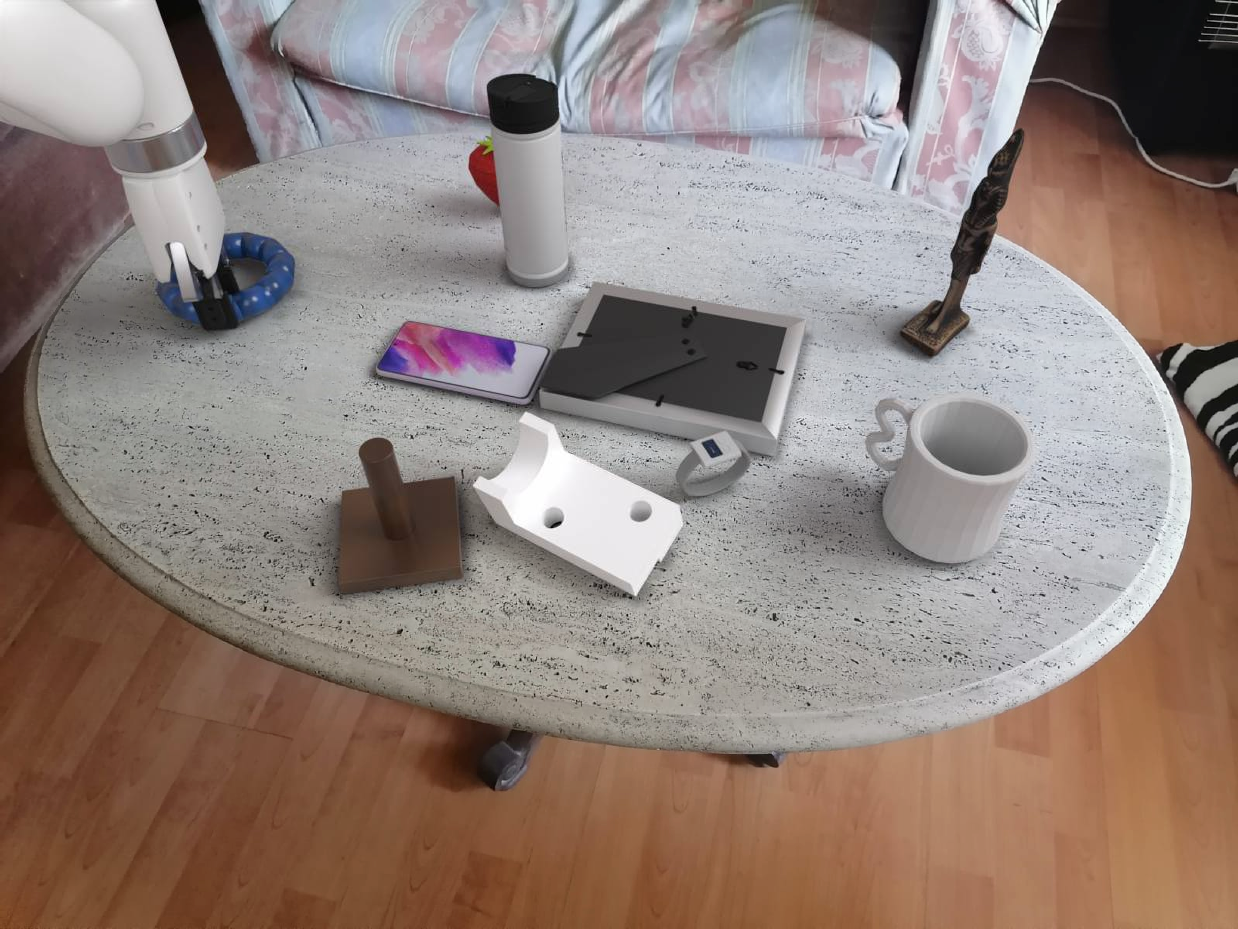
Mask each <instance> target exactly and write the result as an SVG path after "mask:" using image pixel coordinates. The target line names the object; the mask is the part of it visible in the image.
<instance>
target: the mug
mask: <svg viewBox="0 0 1238 929" xmlns="http://www.w3.org/2000/svg"><path fill="white" fill-rule="evenodd" d="M889 410H894V411H896V412H898V413H900V415H901V416H902V418H903V420H904V423H905V424H906V425H907V429H906V435H905V443H904V448H903V453H902V455H901V457H898V458H896V459H888V458H887V457H886V456H885V455H884V454H883V453H882V450H880V447H879V446H878V444H879V443H889V442H892V440H893V439H895V436H896V429H895V427H894V424H893V422H892V421H891V418H890V416H889V413H888V411H889ZM874 414H875V415H874V416H875V419H876V421H877V423H878V426H879V427H880V429H881V431H872V432H869V433H868V434H867V436H866V439H865V441H864V445H865V448H866V451H867V454H868V455H869V457H870V458H871V460H872V461H873V462H874V463H875V464H876V466H878V467H879V468H880V469H882V470H884V471H885V472H894V474H893V476H892V478H891V479H890V481H889V483H888V485H887V487H886V490H885V492H884V495H883V498H882V517H883V520H884V523H885V525H886V528H887V530H888V532H890V534H891V535H892V537H893V538H894V540H896V541H897V542H898V543H899V544H900V545H901V546H903V547H904V548H905V549H906V550H908V551H909V552H912V553H913V554H915V555H917V556H919V557H921V558H924V559H927V560H930V561H933V562H936V563H946V564H960V563H961V564H962V563H968V562H970V561H974V560H977V559H979V558H981V557H982V556H984V555H986V554H987V553H988V552H990V551H991V550H992V548H993V547H994V545H996V543H997V541H998V540H999V538H1000V536H1001V533H1002V530H1003V526H1004V522H1005V519H1006V518H1005V517H1006V515H1007V511H1008V509H1009V506H1010V504H1011V502H1012V500H1013V497H1014V495H1015V492H1016V490H1017V488H1018V486H1019V485H1020V484H1021V482H1022V480H1023V479H1024V478H1025V476H1026V475H1027V473H1028V472H1029V470H1030V469H1031V468H1032V466H1033V465H1034V463H1035V460H1036V455H1037V451H1038V450H1037V449H1038V448H1037V443H1036V442H1037V441H1036V437H1035V435H1034V433H1033V432H1032V430H1031V428H1030V425H1029V424H1028V423H1027V422H1026V421H1025V420H1024V419H1023V418H1022V417H1021V416H1020V414H1019V413H1017V412H1016V411H1014V410H1013V409H1012V408H1010V407H1009V406H1007V405H1006V404H1003V403H1001V402H999V401H997V400H995V399H993V398H991V397H987V396H983V395H980V394H976V393H968V392H951V393H943V394H940V395H937V396H933V397H930V398H929V399H927V400H925V401H924V402H922V403H920V404H919V405H918V406H917V407H916V409H915V410H914V408H913V407H912V406H911V405H910V404H909V402H907V401H905V400H902V399H901V398H896V397H895V398H893V397H886V398H884V399H881V400H879V401H878V403H877V405H876V406H875V408H874Z"/></svg>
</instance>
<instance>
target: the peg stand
mask: <svg viewBox="0 0 1238 929" xmlns="http://www.w3.org/2000/svg"><path fill="white" fill-rule="evenodd" d="M358 457H359V460H360V463H361V467H362V469H363V472H364V476H365V478H366V482H367V484H368V486H367V487H361V488H354V489H353V488H352V489H346V490H341V498H340V499H341V500H340V502H341V505H340V526H339V530H340V531H339V554H338V558H339V559H338V580H337V581H338V582H337V583H338V586H339V588H340V591H341V594H342V595H349V594H357V593H364V592H372V591H378V590H385V589H392V588H399V587H400V588H401V587H408V586H414V585H415V586H416V585H423V584H429V583H435V582H436V583H437V582H443V581H449V580H458V579H464V568H463V567H464V566H463V565H464V564H463V550H462V539H461V538H462V536H461V521H460V507H459V493H458V492H459V490H458V483H457V479H456V476H446V477H438V478H431V479H424V480H423V479H422V480H416V481H409V482H407V481H406V482H404V480H403V477H402V474H401V470H400V467H399V463H398V459H397V456H396V451H395V449H394V445H393V443H392V442H391V440H389V439H387V438H385V437H379V436H377V437H372V438H369V439H367V440H365V441H363V443H362V444H361V445H360V446H359V448H358Z"/></svg>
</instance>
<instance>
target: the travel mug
mask: <svg viewBox="0 0 1238 929" xmlns="http://www.w3.org/2000/svg"><path fill="white" fill-rule="evenodd" d="M485 89H486V95H487V106H488V110H489V125H490V137H492V145H493V153H494V161H495V170H496V178H497V187H498V195H499V204H500V208H499V211H500V219H501V228H502V235H503V236H502V237H503V245H504V252H505V253H504V254H505V261H506V262H505V263H506V270H507V274H508V276H509V277H510V279H512V280H513V281H514V282H515V283H517V284H519V285H521V286H524V287H528V288H543V287H544V288H545V287H549V286H553V285H554V284H556V283H559V282H561V281H562V280H563V279H564V278H565V277H566V275H567V274H568V273H569V269H570V264H569V262H570V261H569V244H568V243H569V242H568V226H567V210H566V191H565V190H566V189H565V176H564V174H565V173H564V159H563V157H564V156H563V142H562V123H561V113H560V100H559V98H560V97H559V87H558V85H557V84H556V83H554V82H553V81H549V80H547V79H544V78H541V77H537V74H531V73H522V72H521V73H520V72H519V73H507V74H502V75H499V76H496V77H493V78H492V79H490V80H489V81H488V82H487V84H486V88H485Z"/></svg>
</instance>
